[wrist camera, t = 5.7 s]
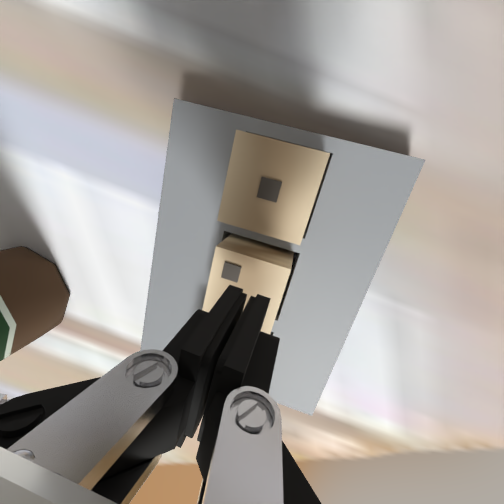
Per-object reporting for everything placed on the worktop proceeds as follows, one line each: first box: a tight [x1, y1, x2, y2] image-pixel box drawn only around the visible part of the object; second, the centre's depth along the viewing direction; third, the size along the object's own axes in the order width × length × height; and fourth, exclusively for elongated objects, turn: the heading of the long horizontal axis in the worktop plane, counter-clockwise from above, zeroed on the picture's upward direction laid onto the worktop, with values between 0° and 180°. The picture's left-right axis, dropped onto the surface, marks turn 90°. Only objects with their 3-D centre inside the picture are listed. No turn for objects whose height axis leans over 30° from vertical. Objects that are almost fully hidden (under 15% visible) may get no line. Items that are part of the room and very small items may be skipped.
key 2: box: [202, 233, 294, 334], centre depth 15 cm, size 4×4×4 cm
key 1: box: [217, 130, 330, 245], centre depth 13 cm, size 4×4×4 cm
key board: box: [140, 98, 425, 416], centre depth 17 cm, size 13×17×2 cm
